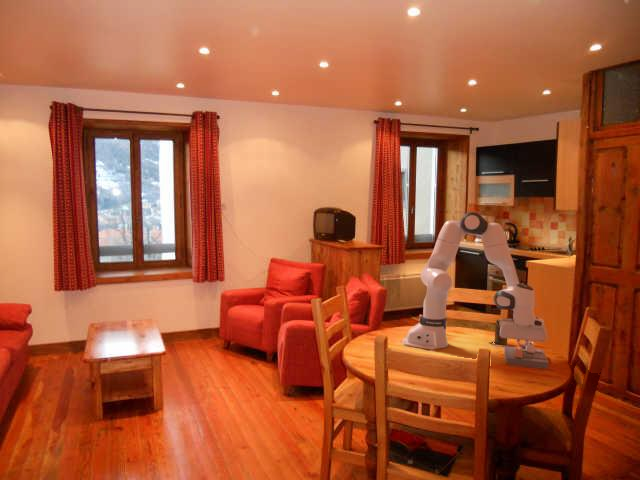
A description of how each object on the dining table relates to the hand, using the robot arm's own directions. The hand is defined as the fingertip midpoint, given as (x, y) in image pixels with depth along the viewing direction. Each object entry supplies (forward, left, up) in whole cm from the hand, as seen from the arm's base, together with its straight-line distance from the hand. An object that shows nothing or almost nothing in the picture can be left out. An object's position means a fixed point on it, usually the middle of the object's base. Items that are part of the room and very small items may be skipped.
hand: (522, 348), depth 229 cm
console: (+1, -4, -4) cm, 6 cm away
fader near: (-2, -9, -1) cm, 9 cm away
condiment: (-9, +19, -5) cm, 21 cm away
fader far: (+4, 0, -1) cm, 4 cm away
